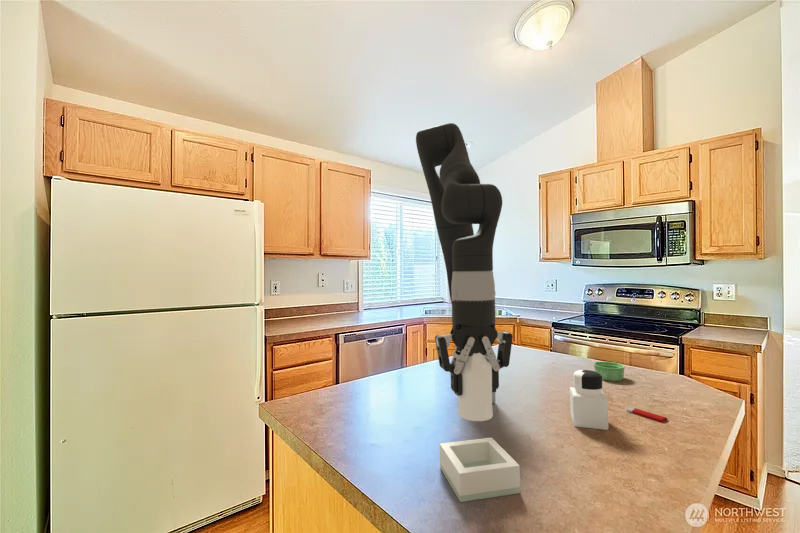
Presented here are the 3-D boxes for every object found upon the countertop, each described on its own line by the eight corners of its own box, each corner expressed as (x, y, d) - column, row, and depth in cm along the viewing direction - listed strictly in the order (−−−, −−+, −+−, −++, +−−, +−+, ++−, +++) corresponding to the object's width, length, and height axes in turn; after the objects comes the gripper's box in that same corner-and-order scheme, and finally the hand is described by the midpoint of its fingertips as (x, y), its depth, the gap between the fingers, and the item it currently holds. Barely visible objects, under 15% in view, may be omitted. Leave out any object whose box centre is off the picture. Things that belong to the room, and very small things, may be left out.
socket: (492, 460, 71) (491, 437, 71) (520, 493, 60) (519, 465, 60) (440, 467, 69) (439, 443, 69) (460, 502, 58) (459, 473, 58)
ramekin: (631, 381, 117) (630, 368, 117) (602, 382, 117) (602, 368, 117) (615, 373, 126) (614, 361, 126) (588, 374, 126) (588, 361, 126)
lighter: (661, 419, 86) (626, 408, 93) (661, 424, 86) (626, 413, 93) (667, 417, 88) (632, 406, 95) (667, 422, 88) (632, 411, 95)
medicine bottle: (602, 418, 89) (601, 369, 89) (608, 430, 83) (607, 377, 83) (570, 415, 92) (569, 366, 92) (573, 426, 85) (572, 374, 85)
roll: (493, 345, 66) (489, 351, 61) (494, 411, 66) (490, 424, 61) (460, 343, 68) (453, 349, 63) (461, 407, 68) (454, 419, 63)
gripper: (500, 294, 70) (502, 383, 70) (428, 296, 67) (429, 389, 67) (521, 297, 63) (523, 396, 62) (440, 300, 60) (442, 404, 60)
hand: (474, 392), depth 65 cm, fingers closed on roll, 5 cm apart
